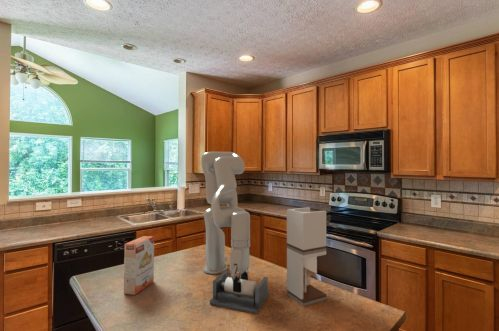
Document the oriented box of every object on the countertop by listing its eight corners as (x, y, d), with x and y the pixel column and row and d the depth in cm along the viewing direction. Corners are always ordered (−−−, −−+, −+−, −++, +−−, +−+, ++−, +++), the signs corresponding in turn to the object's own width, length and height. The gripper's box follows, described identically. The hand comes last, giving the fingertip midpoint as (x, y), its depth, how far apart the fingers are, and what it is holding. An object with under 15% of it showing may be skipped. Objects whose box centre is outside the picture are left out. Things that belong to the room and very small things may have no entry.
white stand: (303, 306, 103) (303, 213, 103) (286, 294, 112) (286, 209, 112) (326, 299, 108) (326, 210, 108) (308, 288, 117) (308, 207, 117)
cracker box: (136, 296, 111) (136, 244, 111) (123, 294, 112) (123, 243, 112) (154, 281, 125) (154, 235, 125) (143, 280, 126) (142, 235, 126)
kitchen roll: (230, 287, 114) (229, 274, 113) (258, 292, 109) (257, 278, 109) (224, 296, 108) (223, 282, 107) (253, 301, 104) (252, 287, 103)
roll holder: (227, 287, 119) (227, 268, 119) (269, 294, 112) (269, 274, 112) (209, 304, 104) (209, 283, 104) (256, 314, 97) (256, 291, 97)
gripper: (240, 236, 118) (240, 278, 118) (222, 247, 102) (222, 296, 102) (256, 238, 115) (256, 280, 115) (241, 250, 99) (241, 299, 99)
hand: (240, 287), depth 108 cm, fingers open, 6 cm apart
